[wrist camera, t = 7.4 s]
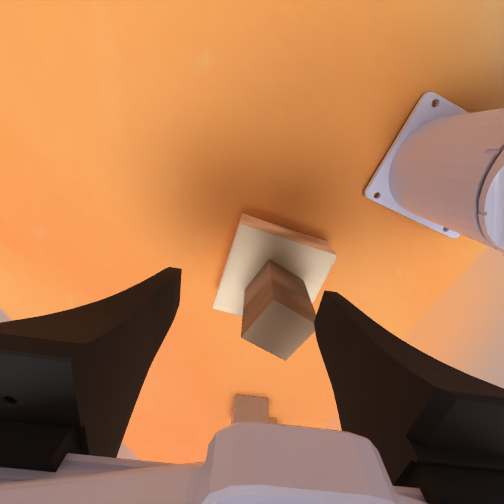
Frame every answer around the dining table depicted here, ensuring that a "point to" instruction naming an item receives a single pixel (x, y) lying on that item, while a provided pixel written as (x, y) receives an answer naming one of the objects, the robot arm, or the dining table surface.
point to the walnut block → (277, 311)
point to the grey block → (250, 409)
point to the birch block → (276, 249)
